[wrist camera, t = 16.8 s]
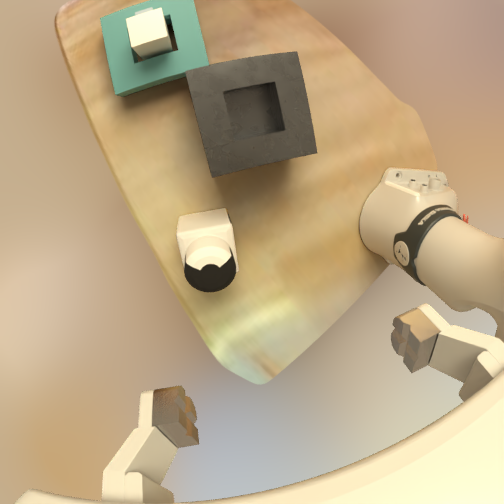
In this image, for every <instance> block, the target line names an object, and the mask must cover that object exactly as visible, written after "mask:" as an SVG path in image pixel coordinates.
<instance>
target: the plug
mask: <svg viewBox="0 0 504 504" xmlns="http://www.w3.org/2000/svg"><path fill="white" fill-rule="evenodd" d="M126 22H127V27H128V32H129V37H130V42H131V47H132V48H133V49H134V51H135V52H136V53H137V54H138V55H139V56H140V57H141V58H142V59H143V60H147V59H150V58H153V57H156V56H159V55H163V54H166V53H169V52H173V49H172V45H171V40H170V36H169V31H168V28H167V24H166V21H165V18H164V15H163V11H162V8H158V9H155V10H153V8H152V7H150V8H147V9H144V10H141V11H138V12H135V16H133V17H130V18H127V19H126Z"/></svg>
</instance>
